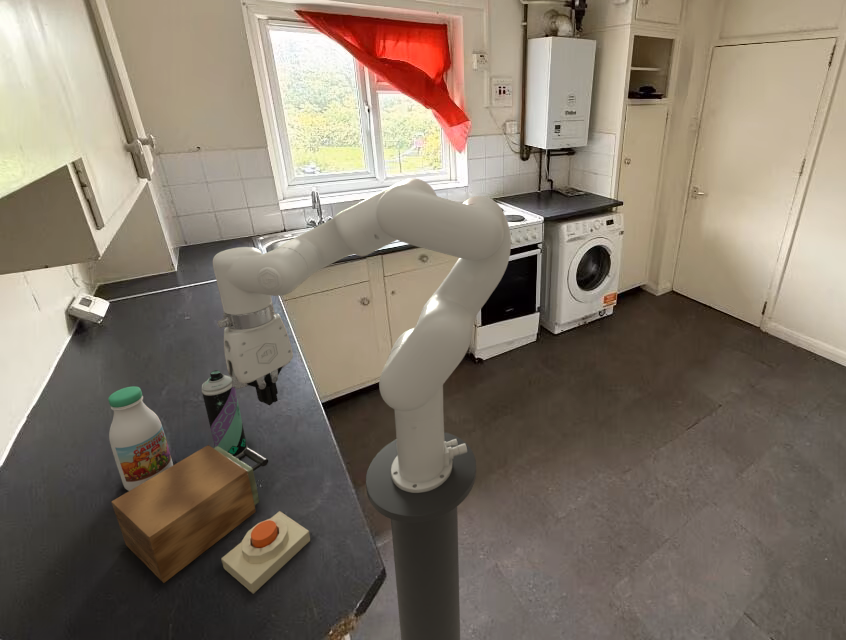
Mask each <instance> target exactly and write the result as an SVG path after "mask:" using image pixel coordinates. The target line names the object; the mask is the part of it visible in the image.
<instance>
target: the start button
mask: <svg viewBox="0 0 846 640" xmlns="http://www.w3.org/2000/svg"><path fill="white" fill-rule="evenodd" d="M266 520H267V521H265V520H263V521H264V522H263V521H260V522H261V523H260V522H258V523H259V524H258V523H257V524H258V525H257V524H256V525H257V526H256V527H255V528H254V529H253V530H252V532H251V539H252V543H253V546H254V547H256V548H263V547H266V546H268V545H270V544H271V543H272V542H273V541H274V540H275V539H276V537H277V534H278V532H277V527H276V523H275V522H274V521H271V520H268V519H266Z"/></svg>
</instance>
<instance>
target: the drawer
mask: <svg viewBox="0 0 846 640" xmlns="http://www.w3.org/2000/svg"><path fill="white" fill-rule="evenodd" d="M213 448H214V449H215V450H217V451H218V452H220V453H221V454H223V455H224V456H226V457H227V458H229V459H230V460H232V461H233V462H235V463H237V464H238V465H240V466H241V467H243V468H244V469H246V470H247V472H248V476H249V481H250V486H251V491H252V495H253V500H254V505H255V506H256V505H257V504H259V503H260V498H259V492H258V487H257V482H256V477H255V471H256V470H258V469H259V468H261V467H266V466H268V464H269V459H268V458H266V457H265V456H263V455H261V454H260V453H258V452H256V451H255V450H253V449H251V448H250V447H247V449H245V450H244V452H243V454H241V455H240V456H238V457H236V458H235V457H234V456H232V455H231V454H229V453H228V452H226V451H225V450H223V449H222V448H220V447H218V446H217V447H215V446H214V447H213ZM244 458H248V459H249V460H251V461H252V462H254V463H256V464H254V465H253V466H249V465H248V464H247V463H245V462H244V461H242V459H244Z"/></svg>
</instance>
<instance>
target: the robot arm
mask: <svg viewBox="0 0 846 640" xmlns="http://www.w3.org/2000/svg"><path fill="white" fill-rule="evenodd" d="M396 241H399V242H401V243H404V244H407V245H411V246H414V247H416V248H417V247H418V248H421V249H424V250H428V251H432V252H436V253H440V254H444V255H448V256H450V257H451V256H452V257H455V258H458V259H457V261H456V262H455V263H454V265H453V266H452V268H451V270H450V271H449V273H448V274H447V275H446V276H445V278H444V279H443V281H442V282H441V283H440V285H439V286H438V287H437V289H436V290H435V291H434V292H433V294H432V295H431V296H430V297H429V299H428V300H427V301H426V302H425V304H424V305H423V307H422V309H421V312H420V314H419V317H418V320H417V322H416V324H415V326H414V327H412V328H410V329H407V330H405V331H404V332H402V333H401V334H400V335H399V337H397V339H396V340H395V342H394V344H393V345H392V348H391V349H390V352H389V354H388V356H387V359H386V362H385V364H384V366H383V367H382V371H381V373H380V377H379V381H378V386H379V394H380V396H381V398H382V400H383V401H384V403H385V404H386V405H387V406H388V407H389V408H391V409H393V410H394V411H393V412H394V423H395V436H396V439H397V452H398V455H397V457H396V458H395V459H394V461H393V463H392V467H391V476H392V480H393V482H394V483H395V485H396V486H397V487H399V488H400V489H402V490H404V491H407V492H411V493H421V492H427V491H430V490H433V489H435V488H437V487H438V486H440V485H442V484H443V483H444V482H445V481H446V480H447V478H448V477H449V476H450V474H451V471H452V459H453V456H456V455H461V454H464V453H467V447H466V444H467V443H466V442H465V443H466V444H465V443H464V444H461V445H458V446H456V445H457V440H456V439H454V440H450V441H448V442H446V441H444V432H445V424H444V422H445V418H444V416H445V415H444V384H445V383H446V381H447V380H448V379H449V378H450V376H452V374H453V372H454V371H455V370H456V368H457V367H458V366H459V365H460V363H461V362H462V361H463V359H464V358H465V356H466V354H467V352H468V351H469V348H470V346H471V341H472V336H473V327H474V323H475V320H476V317H477V315H478V314H479V312H480V311H481V310H482V309H483V307H484V305H485V304H486V303H487V301H488V300H489V298H490V297H491V295H492V294H493V292H494V291H495V290H496V288H497V287H498V285H499V283H500V282H501V281H502V278H503V276H504V274H505V272H506V270H507V268H508V264H509V262H510V256H511V247H512V245H511V244H512V237H511V229H510V226H509V222H508V220H507V218H506V215H505V213H504V211H503V209H502V207H501V206H500V204H498V203H497V202H496V201H495V200H494V199H492V198H491V197H489V196H485V195H475V196H471V197H469V198H467V199H465V201H463V202H459V201H456V200H451V199H448V198H445V197H441V196H438V195H437V193H436V191H435V190H434V188H433V187H432V186H431V185H430V184H429V183H428V182H426V181H425V180H423V179H419V178H407V179H405V180H401V181H399V182H396V183H395V184H393V185H390V186H389V187H387V188H385V189H383V190H381V191H379V192H377V193H375V194H373V195H371V196H370V197H367V198H366V199H364V200H361V201H359V202H358V203H356V204H354V205H352V206H350V207H348V208H346V209H343V210H342V211H340V212H338V213H336V214H335V215H334V216H333V217H332V218H331V219H329V220H327V221H325V222H323V223H322V224H321V223H320V224H319V225H318V226H315V227H314V228H312V229H310V230H308V231H305V232H304V233H302V234H299V235H298V236H295V237H294V238H291V239H290V240H288V241H286V242H284V243H282V244H280V245H279V246H277V247H275V248H274V249H272V250H270V251H267V252H265V253H262V251H261V250H259V248H256V247H253V246H252V247H250V246H240V247H239V246H238V247H233V248H229V249H225V250H221V251H219V252H218V253H216V254H215V255H214V256H213V257H212V268H213V272H214V276H215V280H216V285H217V288H218V294H219V297H220V301H221V306H222V310H223V313H222V316H223V317H222V318H221V319H219V320H217V322H216V323H217V327H219V329H223V328H224V330H223V351H224V359H225V360H224V361H225V365H226V369H227V373H228V376H230V377H232V387H234V388H235V390H240V389H243V388H247V387H253V388H255V391H256V396H257V399H258V401H259V402H261V403H263V404H265V405H267V406H271V405H273V403H276V402H278V400H279V399H278V394H279V393H278V392H279V391H278V387H277V382H278V381H279V375H280V374H281V371H282V369H283V368H285V367H286V366H287V365H289V364H290V363H291V361H292V360H293V358H294V353H293V348H292V344H291V340H290V337H289V334H288V331H287V328H286V326H285V324H284V321H283V319H282V317H281V315H280V314H279V313H276V312H275V309H274V304H273V299H272V297H282V296H286V295H289V294H291V293H292V292H294V291H295V290H296V289H297V288H299V287H300V286H301V285H302V284H303V283H304V282H305V281H306V280H308V279H309V278H310V277H312V276H313V275H314V274H315V273H317V272H318V271H320V270H322V269H324V268H326V267H328V266H330V265H332V264H334V263H336V262H338V261H340V260H342V259H344V258H347V257H349V256H353V255H356V256H359V257H365V256H368V255H370V254H372V253H374V252H376V251H379V250H380V249H382V248H384V247H386V246H388V245H390V244H391V243H394V242H396ZM453 446H456V447H453ZM451 447H453V448H451Z"/></svg>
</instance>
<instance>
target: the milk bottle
mask: <svg viewBox="0 0 846 640" xmlns="http://www.w3.org/2000/svg"><path fill="white" fill-rule="evenodd" d="M107 399H108V400H107V401H108V404H109V406H110V409H111V410H112V411H113V417H112V420H111V424H110V427H109V430H108V431H109V432H108V439H109V444H110V447H111V451H112V454H113V458H114V460H115V465H116V467H117V471H118V473H119V476H120V480H121V482H122V485H123V487H124V489H125V490H126V491H127V492H129V491H130V490H132V489H134V488H135V487H137V486H139V485H141V484H142V483H144V482H146V481H147V480H149V479H151V478H153V477H154V476H156V475H158V474H159V473H161V472H163V471H165V470H166V469H168V468H170V467H171V466H173V465H174V463H173V459H172V456H171V451H170V448H169V445H168V441H167V437H166V434H165V431H164V427H163V425H162V422H161V420H160V418H159V416H158V414H156V412H154V411H153V410H152V409H151V408H149V407H148V406H147V405H146V403H144V396H143V392H142V389H141V387H139V386H133V385H132V386H127V387H123V388H121V389H118V390H116V391H114V392H112V394H110V395H109V396H108V398H107Z"/></svg>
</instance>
